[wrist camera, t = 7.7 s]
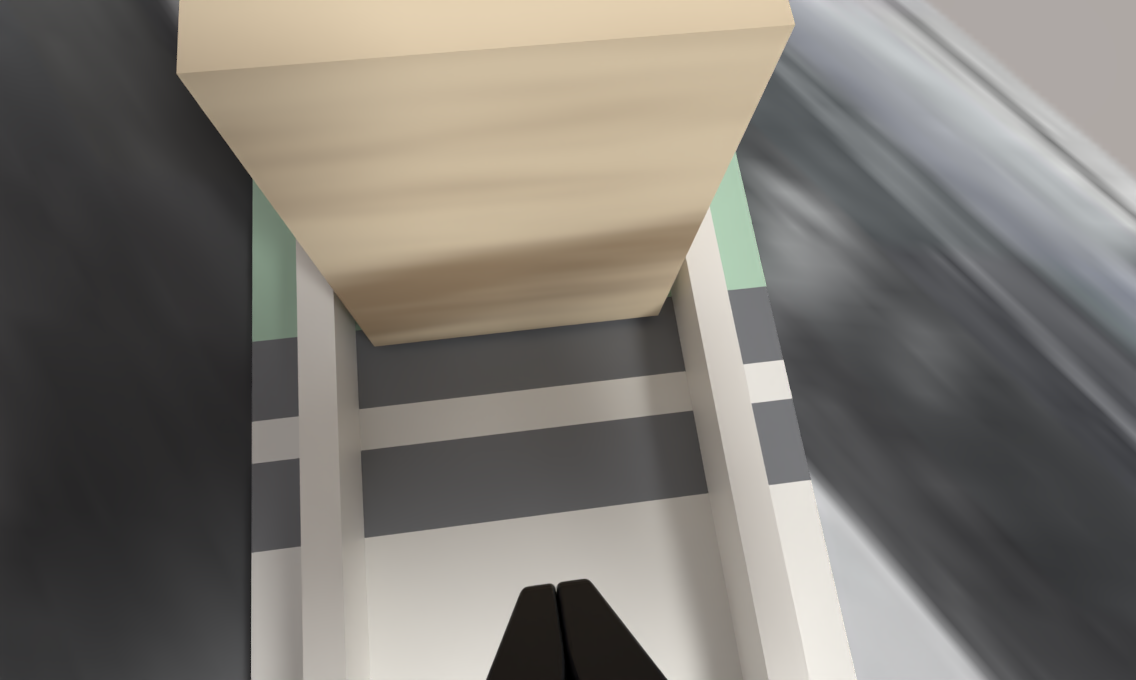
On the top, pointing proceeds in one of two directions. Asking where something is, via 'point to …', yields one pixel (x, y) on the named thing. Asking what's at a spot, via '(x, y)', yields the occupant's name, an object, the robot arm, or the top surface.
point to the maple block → (485, 145)
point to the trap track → (533, 479)
